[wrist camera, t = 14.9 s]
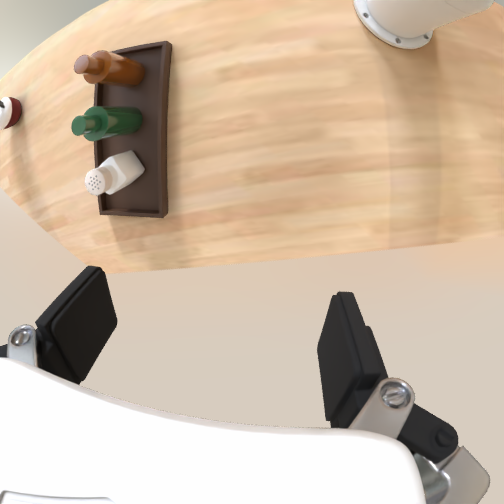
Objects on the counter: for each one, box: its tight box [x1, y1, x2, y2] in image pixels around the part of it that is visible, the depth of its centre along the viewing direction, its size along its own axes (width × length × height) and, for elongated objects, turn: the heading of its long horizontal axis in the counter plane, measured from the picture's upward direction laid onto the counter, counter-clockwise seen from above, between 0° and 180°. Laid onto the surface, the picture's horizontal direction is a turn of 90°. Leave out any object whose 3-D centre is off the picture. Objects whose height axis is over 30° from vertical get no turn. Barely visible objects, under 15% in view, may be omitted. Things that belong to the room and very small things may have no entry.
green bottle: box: [72, 106, 143, 141], centre depth 27 cm, size 4×4×12 cm
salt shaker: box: [85, 151, 145, 196], centre depth 31 cm, size 4×4×10 cm
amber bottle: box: [74, 50, 145, 88], centre depth 24 cm, size 4×4×12 cm
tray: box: [94, 41, 172, 218], centre depth 32 cm, size 25×11×2 cm, turn 176°
